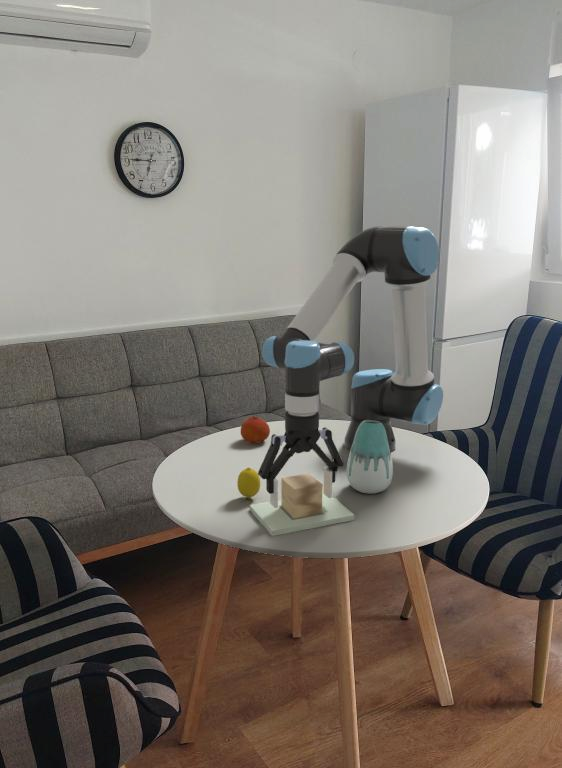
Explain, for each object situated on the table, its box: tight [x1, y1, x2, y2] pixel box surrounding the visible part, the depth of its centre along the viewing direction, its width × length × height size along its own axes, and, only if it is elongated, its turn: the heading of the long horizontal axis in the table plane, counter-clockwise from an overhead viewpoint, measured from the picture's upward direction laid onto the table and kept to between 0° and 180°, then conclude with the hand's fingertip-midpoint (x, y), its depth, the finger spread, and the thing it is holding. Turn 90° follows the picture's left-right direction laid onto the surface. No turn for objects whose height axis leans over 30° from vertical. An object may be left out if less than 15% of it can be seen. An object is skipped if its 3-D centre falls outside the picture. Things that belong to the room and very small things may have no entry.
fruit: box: [240, 415, 271, 444], centre depth 196 cm, size 9×9×8 cm
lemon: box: [236, 467, 261, 499], centre depth 156 cm, size 6×6×8 cm
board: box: [249, 491, 355, 537], centre depth 148 cm, size 20×14×1 cm
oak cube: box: [280, 473, 323, 518], centre depth 147 cm, size 7×7×7 cm
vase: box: [346, 420, 394, 494], centre depth 160 cm, size 12×12×18 cm
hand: (301, 500), depth 147 cm, fingers open, 13 cm apart
